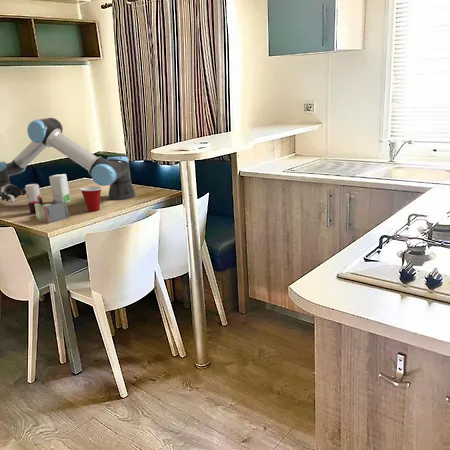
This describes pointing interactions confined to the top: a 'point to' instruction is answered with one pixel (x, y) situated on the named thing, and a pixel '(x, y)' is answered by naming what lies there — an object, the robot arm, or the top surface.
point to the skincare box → (60, 187)
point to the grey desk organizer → (52, 211)
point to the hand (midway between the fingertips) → (26, 196)
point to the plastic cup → (92, 198)
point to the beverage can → (32, 196)
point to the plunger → (42, 202)
